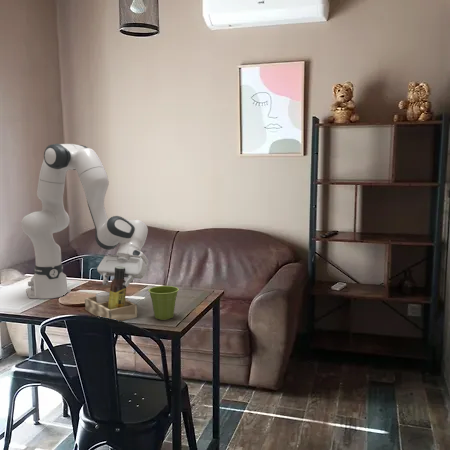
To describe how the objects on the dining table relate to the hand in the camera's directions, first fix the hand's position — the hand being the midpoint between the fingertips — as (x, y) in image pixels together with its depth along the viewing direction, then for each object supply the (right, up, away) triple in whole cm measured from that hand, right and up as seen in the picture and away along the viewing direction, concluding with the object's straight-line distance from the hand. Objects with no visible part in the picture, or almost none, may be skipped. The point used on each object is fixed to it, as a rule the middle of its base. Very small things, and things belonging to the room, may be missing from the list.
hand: (114, 285), depth 196 cm
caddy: (-3, -12, +6) cm, 14 cm away
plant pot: (+19, -13, +1) cm, 23 cm away
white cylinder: (-6, -12, +11) cm, 17 cm away
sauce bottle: (0, -13, +2) cm, 13 cm away
